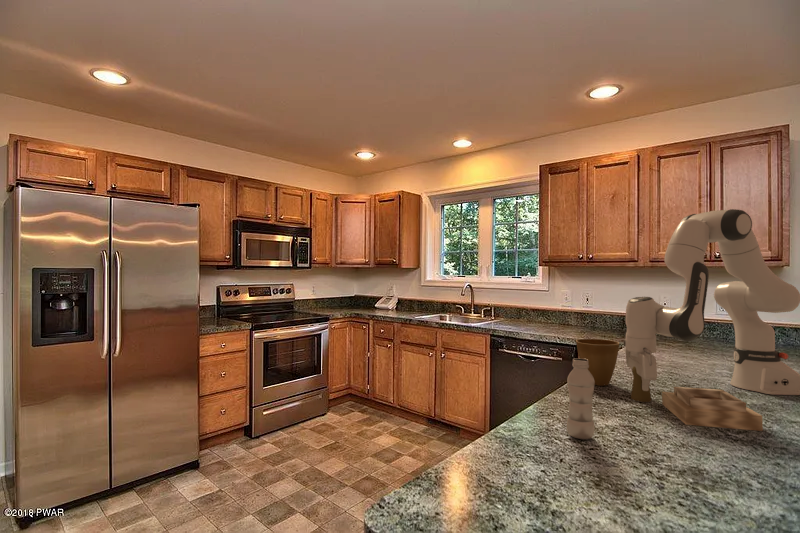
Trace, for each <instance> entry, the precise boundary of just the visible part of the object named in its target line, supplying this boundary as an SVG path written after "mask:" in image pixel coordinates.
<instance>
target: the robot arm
mask: <svg viewBox="0 0 800 533" xmlns="http://www.w3.org/2000/svg"><path fill="white" fill-rule="evenodd" d="M752 228H753V221H752V218H751V216H750V215H749V214H748V213H747V212H746V211H744V210H743V209H735V208H734V209H733V208H732V209H731V208H730V209H724V210H723V209H722V210H721V209H720V210H719V209H718V210H710V211H706V212H705V211H704V212H699V213H692V214H689V215H686V216H684V217H683V218H682V219H681V220H680V222H679V223H678V224H677V226H676V227H675V229H674V231H673V233H672V235H671V236H670V240H669V242H668V244H667V248H666V250H665V253H664V264H665V265H666V267H667V268H668V270H670V271H671V272H672V273H674V274H675V275H677V276H680V277H682V278H683V279H684V280H685V291H684V296H683V297H684V298H683V302H682V305H681V306H680V307H679V308H678V307H669V306H665V305H662V304H660V303H658V302H657V301H655V299H654V298H653V297H651V296H635V297H632V298H630V299H629V300H628V301H627V303H626V307H625V325H626V332H625V339H624V340H623V346H624V347H625V348H624V349H625V350H624V351H625V362H626V365H627V367H628V368H629V369H631V370H632V368H633V367H634V366H635V367H636V371H637V374H638V375H640V376H641V377H642V384H641V389H642V390H643V391H648V390H649V387H650V383H651V381H657V378H658V367H657V359H656V356H655V355H653V354H654V353H657V335H662V336H665V337H671V338H675V339H678V340H681V341H685V342H691V341H694V340H696V339H697V338H699V337H700V336H701V335H702V334H703V332H704V330H705V309H706V300H707V292H708V286H709V279H710V278H709V275H710V274H709V269H708V266H706V265H705V255H706V252H707V250H708V244H709V243H711V244H712V243H713V244H714V243H717V246H718V250H719V253H720V256H721V259H722V262H723V266H724V268H725V270H726V272H727V273H728V274H729V275H731V276H733V277H734V278H737V279H738V280H739V281H738V280H733V281H726V282H721V283H719V284H718V285H717V286H716V287H715V289H714V292H713V297H714V301H715V302H716V304H717V305H718V306H719V307H721V308H722V309H724V311H726V313H727V315H729V317H730V319H731V321H732V324H733V328H734V336H735V337H734V339H735V340H734V341H735V342H734V343H735V346H734V347H733V361H734V366H733V367H734V368H733V373H732V376H731V380H730V382H729V384H730V385H731V386H733V387H736V388H738V389H739V388H740V389H743V390H746V391H753V392H758V393H762V394H766V395H773V396H774V395H778V396H779V395H780V396H782V395H784V396H785V395H786V396H800V373H799V372H797V371H796V370H795V369H793V368H792V367H790V366H788V365H787V364H786V363H785V362H783V361H782V359H783V360H787V359H789V354H787V353H785V352H779V351H777V350H776V332H775V330H774V328H773V326H771V325H770V324H769V323H767V322H765V321H763V320H762V319H761V318H760V316H759V314H758V312H762V313H773V314H778V313H791V312H794V310H796V309H797V308H798V307H799V305H800V291H799V290H798V288H797V287H795V285H793V284H790V283H789V282H786V281H785V280H783V279H781V278H780V277H779V276H778V275H776V274H775V273H774V272H773V271H772V270H771V269H770V268H769V266H768V265H767V263H766V261H765V260H764V259H765V258H764V257H763V255H762V251H761V248H760V245H759V242H758V240H757V237H756V235H755V233H754V231H753V229H752ZM656 334H657V335H656ZM632 376H633V378H634V375H633V374H632Z"/></svg>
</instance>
